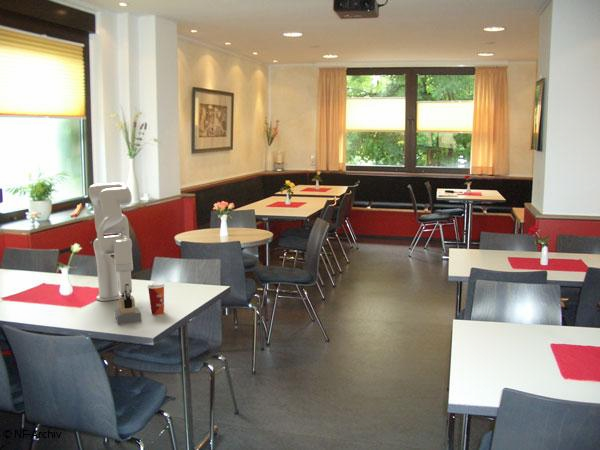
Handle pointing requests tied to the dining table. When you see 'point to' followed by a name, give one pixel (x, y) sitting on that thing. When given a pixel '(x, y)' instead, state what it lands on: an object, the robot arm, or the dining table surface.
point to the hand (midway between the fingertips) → (127, 305)
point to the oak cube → (122, 307)
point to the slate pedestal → (128, 316)
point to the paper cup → (156, 297)
